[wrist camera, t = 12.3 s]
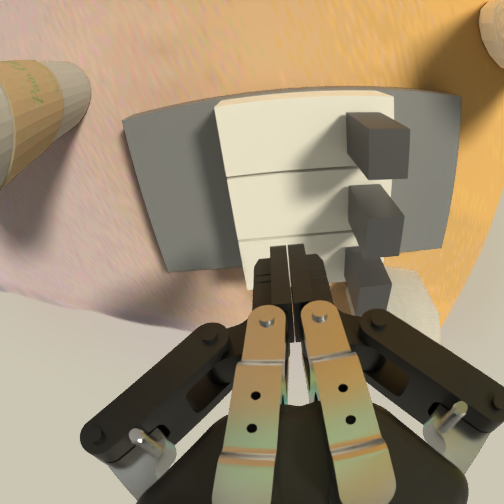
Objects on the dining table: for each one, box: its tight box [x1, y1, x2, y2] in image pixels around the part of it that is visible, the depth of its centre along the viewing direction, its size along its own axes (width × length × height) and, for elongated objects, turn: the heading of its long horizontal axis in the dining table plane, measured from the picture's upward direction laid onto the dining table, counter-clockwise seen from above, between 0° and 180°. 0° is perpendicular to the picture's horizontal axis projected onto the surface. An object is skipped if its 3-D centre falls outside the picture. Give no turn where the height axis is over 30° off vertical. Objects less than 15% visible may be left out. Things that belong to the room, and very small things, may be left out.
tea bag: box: [345, 266, 441, 345], centre depth 24 cm, size 4×7×10 cm, turn 80°
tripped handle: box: [348, 184, 405, 259], centre depth 16 cm, size 2×2×4 cm
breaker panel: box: [122, 86, 461, 316], centre depth 19 cm, size 13×24×9 cm, turn 97°
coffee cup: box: [0, 60, 91, 191], centre depth 13 cm, size 9×9×15 cm
